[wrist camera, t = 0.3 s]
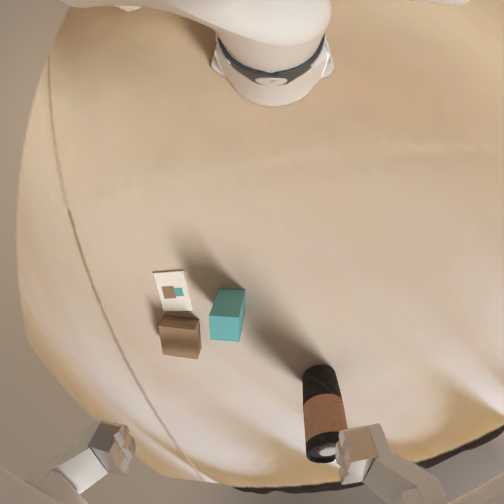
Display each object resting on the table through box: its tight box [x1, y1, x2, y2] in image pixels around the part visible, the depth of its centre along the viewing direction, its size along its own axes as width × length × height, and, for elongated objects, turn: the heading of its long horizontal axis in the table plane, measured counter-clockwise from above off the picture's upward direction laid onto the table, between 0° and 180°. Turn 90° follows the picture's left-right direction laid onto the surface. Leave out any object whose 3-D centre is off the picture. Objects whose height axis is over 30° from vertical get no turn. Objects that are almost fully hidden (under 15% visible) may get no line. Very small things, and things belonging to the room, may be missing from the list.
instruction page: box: [153, 270, 193, 311], centre depth 51 cm, size 8×6×1 cm
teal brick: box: [209, 289, 245, 342], centre depth 47 cm, size 4×4×9 cm
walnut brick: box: [158, 315, 201, 359], centre depth 53 cm, size 7×7×4 cm
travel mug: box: [303, 365, 348, 463], centre depth 46 cm, size 8×8×20 cm
